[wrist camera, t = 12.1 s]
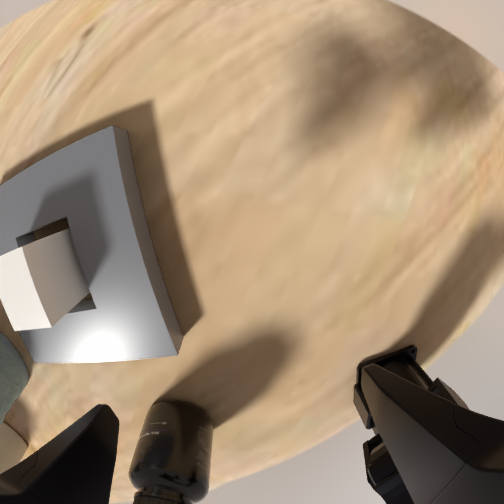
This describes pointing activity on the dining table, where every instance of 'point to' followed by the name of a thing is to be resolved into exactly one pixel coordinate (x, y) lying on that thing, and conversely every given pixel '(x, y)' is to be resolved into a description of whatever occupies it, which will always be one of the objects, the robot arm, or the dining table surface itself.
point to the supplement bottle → (172, 455)
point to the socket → (95, 252)
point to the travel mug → (10, 447)
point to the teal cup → (10, 375)
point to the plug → (41, 281)
